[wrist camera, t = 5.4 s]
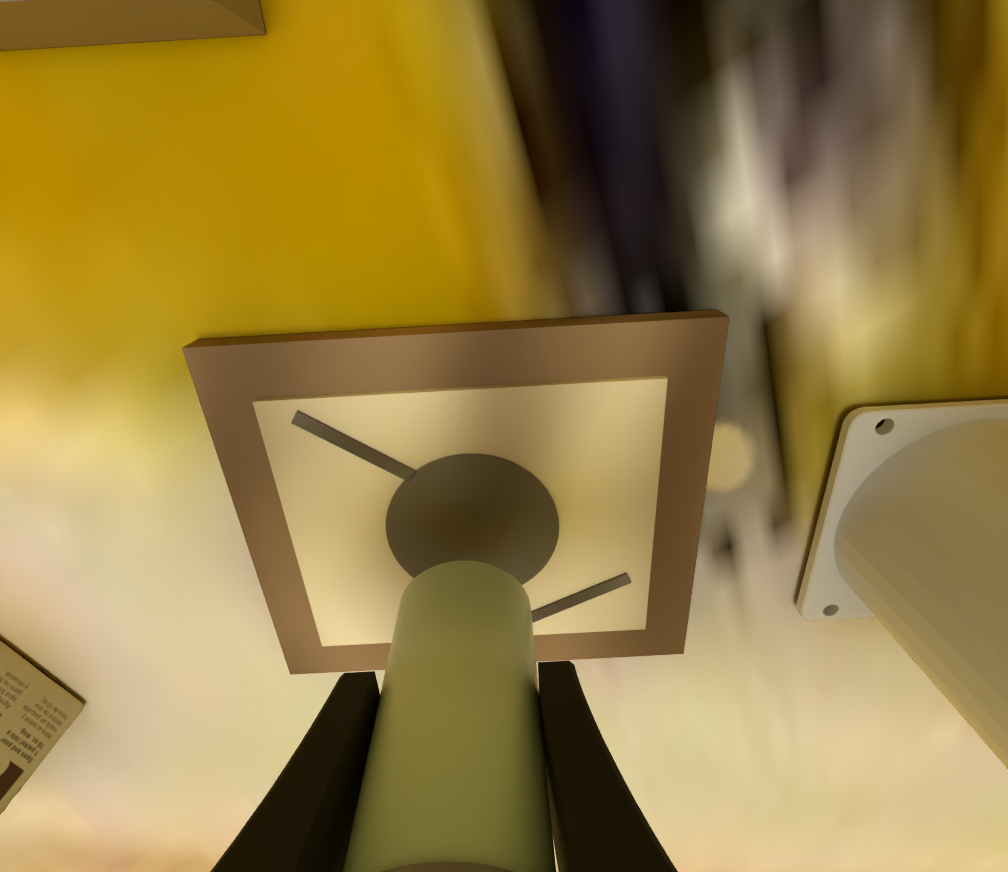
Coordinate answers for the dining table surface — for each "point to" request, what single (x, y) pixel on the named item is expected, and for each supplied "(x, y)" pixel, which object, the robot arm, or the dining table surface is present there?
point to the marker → (457, 734)
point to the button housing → (123, 21)
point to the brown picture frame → (470, 473)
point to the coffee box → (28, 720)
